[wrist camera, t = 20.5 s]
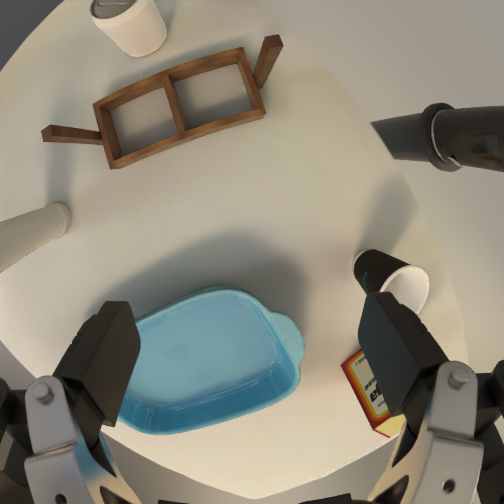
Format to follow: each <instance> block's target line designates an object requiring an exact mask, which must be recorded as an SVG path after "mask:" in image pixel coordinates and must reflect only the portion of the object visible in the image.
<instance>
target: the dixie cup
mask: <svg viewBox="0 0 504 504" xmlns="http://www.w3.org/2000/svg"><path fill="white" fill-rule="evenodd" d="M353 272H354V276H355V278H356V279H357V281H358V282H359V284H360V285H361V287H362V288H363V290H364V291H365V293H366V294H367V295H368V294H369V293H374V292H384V291H390V292H391V293H392V294H393V295H394V297H395V298H396V299H397V301H398V302H399V303H400V304H404V305H405V306H407V307H408V308H410V309H411V310H412V311H414V312H415V314H416V315H417V313H418V312H419V311H420V310H421V309H422V307H423V305H424V304H425V302H426V300H427V297H428V294H429V288H430V282H429V277H428V275H427V273H426V271H425V270H424V269H423V268H421V267H420V266H417V265H410V264H408V263H406V262H403V261H401V260H399V259H397V258H394V257H392V256H390V255H387V254H385V253H383V252H381V251H378V250H375V249H366V250H363V251H361V252H360V253H359V254H358V255H357V256H356V257H355V259H354V262H353Z"/></svg>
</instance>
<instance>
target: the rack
mask: <svg viewBox="0 0 504 504" xmlns="http://www.w3.org/2000/svg"><path fill="white" fill-rule="evenodd" d="M282 48H283V43H282V41H281V38H280V36H279V35H272V36H266V37H265V38H264V41H263V44H262V48H261V51H260V54H259V57H258V61H257V64H256V67H255V71H254V74H252V71H251V68H250V65H249V62H248V60H247V57H246V54H245V51H244V49H243V47H240V48H236V49H232V50H228V51H224V52H220V53H216V54H213V55H209V56H206V57H202V58H199V59H196V60H193V61H190V62H187V63H184V64H181V65H178V66H175V67H173V68H170V69H167V70H164V71H162V72H159V73H157V74H154V75H152V76H150V77H147V78H145V79H142V80H140V81H138V82H136V83H133V84H131V85H129V86H127V87H125V88H123V89H121V90H119V91H117V92H115V93H113V94H111V95H109V96H107V97H105V98H103V99H101V100H99V101H97V102H95V103H94V104H93V108H94V112H95V116H96V120H97V124H98V128H99V132H97V131H91V130H85V129H79V128H72V127H65V126H58V125H49V126H47V127H46V128H44V129H43V130H42V131H41V133H42V138H43V142H60V143H81V144H96V145H103V146H104V150H105V153H106V156H107V160H108V163H109V166H110V169H120V168H123V167H125V166H127V165H130V164H132V163H134V162H136V161H139V160H141V159H143V158H146V157H148V156H151V155H153V154H156V153H158V152H161V151H163V150H166V149H168V148H171V147H173V146H176V145H179V144H181V143H184V142H187V141H190V140H193V139H195V138H198V137H201V136H204V135H207V134H210V133H213V132H216V131H220V130H223V129H226V128H229V127H233V126H236V125H240V124H243V123H247V122H250V121H254V120H258V119H262V118H263V117H264V115H265V114H266V112H265V109H264V106H263V103H262V100H261V97H260V94H259V91H258V89H260V88H263V86H264V84H265V82H266V80H267V78H268V76H269V74H270V72H271V69H272V67H273V65H274V63H275V61H276V59H277V57H278V55H279V53H280V52H281V50H282ZM235 63H237V64H238V67H239V70H240V72H241V75H242V78H243V81H244V84H245V87H246V90H247V93H248V96H249V99H250V102H251V105H252V108H253V110H252V111H248V112H244V113H241V114H237V115H234V116H230V117H227V118H224V119H220V120H217V121H214V122H211V123H208V124H205V125H202V126H199V127H196V128H193V129H190V130H188V128H187V125H186V122H185V118H184V115H183V112H182V109H181V106H180V102H179V99H178V96H177V93H176V89H175V86H174V82H176V81H179V80H182V79H185V78H188V77H191V76H194V75H197V74H200V73H203V72H206V71H209V70H213V69H216V68H220V67H223V66H227V65H231V64H235ZM163 86H164V88H165V91H166V94H167V98H168V101H169V104H170V108H171V111H172V114H173V117H174V121H175V124H176V127H177V130H178V134H176V135H174V136H171V137H168V138H166V139H163V140H161V141H158V142H156V143H153V144H151V145H149V146H146V147H144V148H142V149H139V150H137V151H135V152H132V153H130V154H128V155H126V156H124V157H123V156H122V152H121V149H120V146H119V142H118V139H117V135H116V132H115V128H114V125H113V121H112V117H111V113H110V110H112V109H114V108H116V107H118V106H120V105H122V104H124V103H126V102H128V101H130V100H132V99H135V98H137V97H139V96H141V95H144V94H146V93H148V92H151V91H153V90H155V89H158V88H160V87H163Z"/></svg>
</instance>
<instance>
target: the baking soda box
mask: <svg viewBox="0 0 504 504" xmlns="http://www.w3.org/2000/svg"><path fill="white" fill-rule="evenodd" d="M341 367H342V369H343V371H344V373H345V375H346V377H347V379H348V381H349V383H350V385H351V387H352V389H353V391H354V393H355V395H356V397H357V399H358V401H359V403H360V405H361V407H362V409H363V411H364V413H365V415H366V417H367V419H368V421H369V423H370V425H371V427H372V429H373V430H374V431H376V432H378V433H380V434H382V435H384V436H386V437H388V438H390V437H391V436H393V435H394V434H395V433H397V432H398V431H400V430H401V429H402V426H403V423H404V422H405V420H406V418H405V416H404V414H402V415H399V416H396V417H392V418H391V415H390V413H389V410H388V408H387V405H386V403H385V401H384V398H383V396H382V394H381V391H380V389H379V387H378V384H377V382H376V380H375V377H374V375H373V373H372V371H371V368H370V366H369V364H368V362H367V359H366V357H365V355H364V353H363V351H362V349H360V350H359V351H358V352H356V353H355V354H354V355H353V356H352V357H350V358H349V359H348V360H347V361H345V362H344V363H343V364H342V365H341Z"/></svg>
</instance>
